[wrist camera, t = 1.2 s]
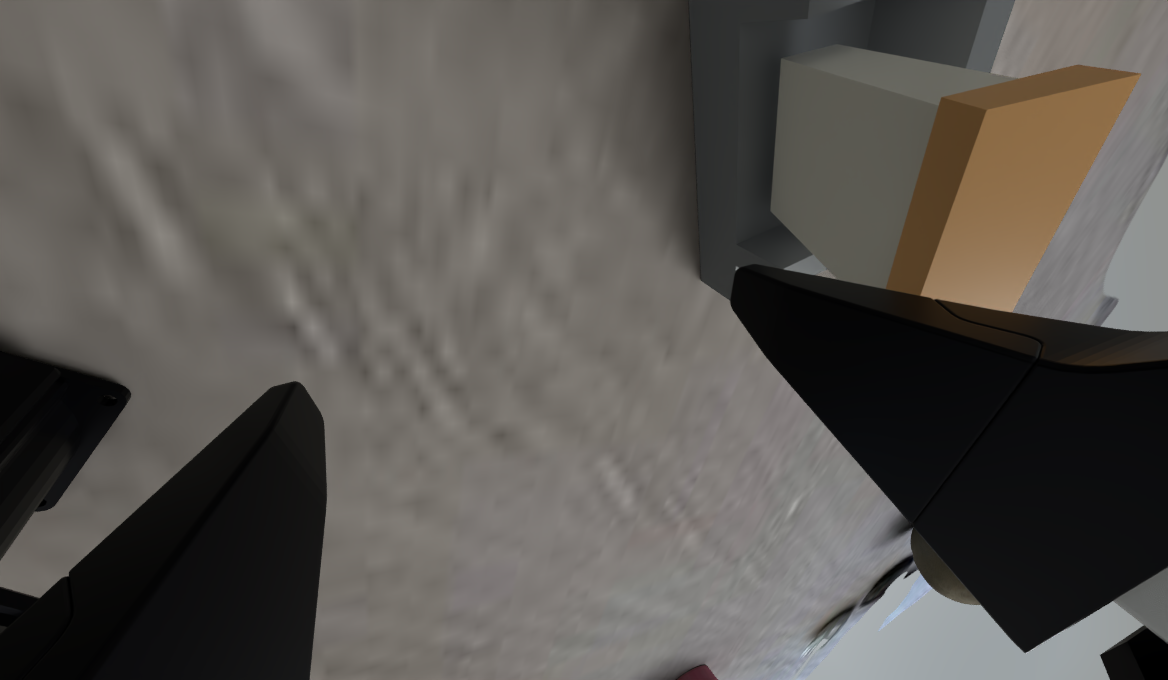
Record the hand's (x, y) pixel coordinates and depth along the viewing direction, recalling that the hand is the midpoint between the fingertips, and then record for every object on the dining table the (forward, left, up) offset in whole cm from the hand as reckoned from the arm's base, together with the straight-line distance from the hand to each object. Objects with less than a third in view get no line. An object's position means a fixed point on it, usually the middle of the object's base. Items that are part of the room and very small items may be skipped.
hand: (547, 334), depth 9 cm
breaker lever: (+11, -8, -8) cm, 16 cm away
